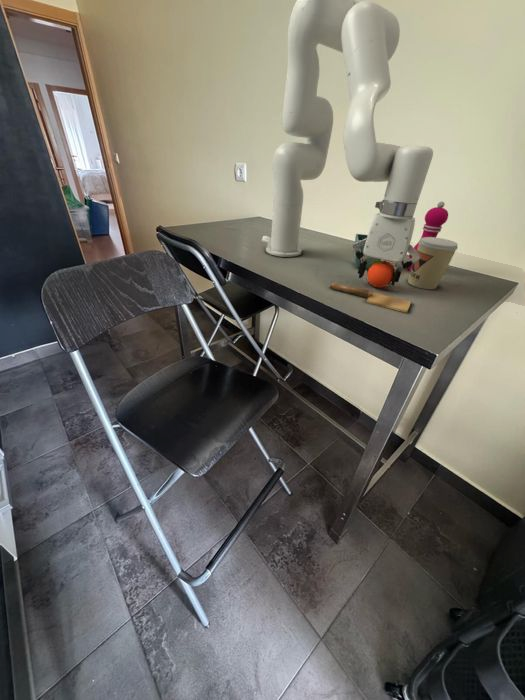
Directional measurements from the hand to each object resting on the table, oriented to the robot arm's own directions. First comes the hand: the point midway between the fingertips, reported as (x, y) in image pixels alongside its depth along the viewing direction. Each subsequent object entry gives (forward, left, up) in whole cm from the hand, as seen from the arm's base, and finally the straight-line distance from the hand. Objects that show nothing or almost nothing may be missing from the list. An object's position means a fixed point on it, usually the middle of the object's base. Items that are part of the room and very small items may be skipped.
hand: (376, 280), depth 77 cm
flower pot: (-7, +16, -2) cm, 17 cm away
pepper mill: (+8, +25, -2) cm, 26 cm away
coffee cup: (+11, +12, -2) cm, 16 cm away
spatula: (0, -8, -2) cm, 9 cm away
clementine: (0, 0, -2) cm, 2 cm away
